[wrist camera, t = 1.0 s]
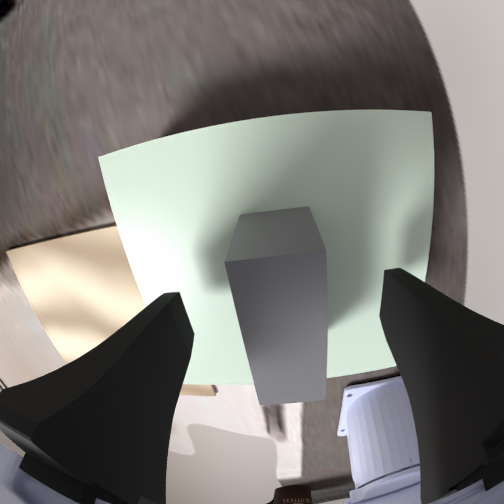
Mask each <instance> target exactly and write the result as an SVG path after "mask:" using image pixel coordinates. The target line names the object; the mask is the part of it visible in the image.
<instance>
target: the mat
mask: <svg viewBox="0 0 504 504" xmlns="http://www.w3.org/2000/svg"><path fill="white" fill-rule="evenodd" d="M6 252H7V254H8V257H9V259H10V262H11V264H12V266H13V269H14V271H15V273H16V275H17V278H18V280H19V282H20V284H21V286H22V288H23V290H24V292H25V294H26V296H27V298H28V300H29V302H30V304H31V306H32V308H33V310H34V312H35V314H36V315H37V317H38V319H39V321H40V323H41V324H42V326H43V328H44V329H45V331H46V333H47V334H48V336H49V338H50V339H51V341H52V343H53V344H54V346H55V347H56V349H57V350H58V352H59V353H60V355H61V356H62V358H63V359H64V361H65V362H66V364H68V363H70V362H72V361H74V360H75V359H77V358H79V357H81V356H82V355H84V354H85V353H87V352H88V351H90V350H91V349H93V348H94V347H96V346H97V345H99V344H100V343H102V342H103V341H104V340H106V339H107V338H108V337H109V336H111V335H112V334H113V333H115V332H116V331H117V330H118V329H120V328H121V327H122V326H124V325H125V324H126V323H127V322H128V321H130V320H131V319H132V318H133V317H134V316H136V315H137V314H138V313H139V312H140V311H142V310H143V309H144V308H145V307H146V305H145V302H144V300H143V297H142V295H141V292H140V290H139V287H138V285H137V282H136V280H135V277H134V274H133V272H132V269H131V266H130V263H129V261H128V258H127V255H126V252H125V249H124V246H123V243H122V240H121V237H120V234H119V231H118V228H117V225H113V226H108V227H103V228H99V229H94V230H89V231H84V232H80V233H75V234H71V235H66V236H62V237H58V238H54V239H49V240H45V241H41V242H37V243H33V244H29V245H25V246H21V247H17V248H14V249H10V250H8V251H6ZM179 395H195V396H216V392H215V390H214V388H213V385H196V384H183V385H182V388H181V391H180V394H179Z"/></svg>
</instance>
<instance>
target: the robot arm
mask: <svg viewBox="0 0 504 504" xmlns="http://www.w3.org/2000/svg"><path fill="white" fill-rule="evenodd" d="M379 317H380V321H381V325H382V328H383V332H384V335H385V338H386V341H387V344H388V346H389V348H390V351H391V353H392V355H393V358H394V360H395V363H396V365H397V367H398V370H399V372H400V375H401V376H398V377H394V378H389V379H384V380H380V381H375V382H369V383H364V384H358V385H352V386H348V387H346V388H345V389H344V394H343V401H342V408H341V414H340V420H339V426H338V432H337V434H338V436H345V435H347V439H348V446H349V454H350V462H351V470H352V477H353V481H354V483H355V488H356V490H352V491H350V499H348V500H346V501H345V502H344V503H343V504H504V325H502V324H500V323H498V322H495V321H493V320H491V319H489V318H486V317H484V316H482V315H480V314H478V313H476V312H474V311H472V310H470V309H468V308H467V307H465V306H463V305H461V304H460V303H458V302H456V301H454V300H453V299H451V298H449V297H448V296H446V295H444V294H443V293H441V292H439V291H438V290H436V289H435V288H433V287H431V286H430V285H428V284H427V283H425V282H424V281H422V280H420V279H419V278H417V277H416V276H414V275H412V274H411V273H409V272H407V271H405V270H404V269H402V268H394V269H387V270H384V277H383V288H382V297H381V306H380V313H379ZM194 336H195V334H194V331H193V328H192V326H191V323H190V320H189V317H188V315H187V312H186V309H185V306H184V303H183V300H182V297H181V294H180V292H168V293H163V294H162V295H160V296H159V297H158V298H156V299H155V300H154V301H153V302H151V303H150V304H149V305H148V306H146V307H145V308H144V309H143V310H142V311H140V312H139V313H138V314H137V315H136V316H134V317H133V318H132V319H131V320H130V321H128V322H127V323H126V324H125V325H124V326H122V327H121V328H120V329H118V330H117V331H116V332H115V333H113V334H112V335H111V336H109V337H108V338H107V339H106V340H104V341H103V342H102V343H100V344H99V345H97V346H96V347H94V348H93V349H91V350H90V351H88V352H87V353H85V354H84V355H82V356H81V357H79V358H77V359H75V360H74V361H72V362H70V363H68V364H66V365H64V366H63V367H61V368H59V369H57V370H55V371H53V372H51V373H48V374H46V375H44V376H42V377H39V378H37V379H34V380H31V381H29V382H26V383H23V384H19V385H16V386H13V387H10V388H6V389H3V390H2V391H1V392H0V430H1V431H2V432H3V433H4V434H5V435H6V436H7V437H8V438H9V439H10V440H12V441H13V442H14V443H15V444H16V445H17V446H19V447H20V448H21V449H22V450H23V451H25V452H26V453H25V455H24V457H22V456H20V455H19V454H18V453H16V452H15V451H13V450H12V449H10V448H9V447H7V446H6V445H5V444H3V443H0V504H166V468H167V456H168V448H169V439H170V433H171V427H172V421H173V416H174V412H175V408H176V404H177V401H178V398H179V394H180V391H181V388H182V385H183V382H184V379H185V375H186V372H187V369H188V366H189V362H190V359H191V354H192V349H193V342H194Z"/></svg>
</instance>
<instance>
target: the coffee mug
mask: <svg viewBox="0 0 504 504" xmlns="http://www.w3.org/2000/svg"><path fill="white" fill-rule="evenodd" d="M267 504H313V503H312V497H311V491H310V487H307V486H285V487H280V488H277V489H275V494H274V498H273V500H272V501H271V502H269V503H267Z"/></svg>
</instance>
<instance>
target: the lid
mask: <svg viewBox="0 0 504 504" xmlns="http://www.w3.org/2000/svg"><path fill="white" fill-rule="evenodd" d="M98 158H99V162H100V166H101V170H102V174H103V179H104V182H105V186H106V190H107V194H108V197H109V201H110V205H111V208H112V211H113V215H114V218H115V221H116V225H117V228H118V231H119V234H120V237H121V240H122V243H123V246H124V249H125V252H126V255H127V258H128V261H129V263H130V266H131V269H132V272H133V274H134V277H135V280H136V282H137V285H138V287H139V290H140V292H141V295H142V297H143V300H144V302H145V305H146V306H148V305H149V304H150V303H151V302H153V301H154V300H155V299H156V298H158V297H159V296H160V295H162V294H163V293H168V292H180V294H181V297H182V300H183V303H184V306H185V309H186V312H187V315H188V317H189V320H190V323H191V326H192V328H193V331H194V334H195V336H194V342H193V349H192V354H191V359H190V362H189V366H188V369H187V372H186V375H185V379H184V382H183V384H196V385H242V384H254V385H255V389H256V393H257V397H258V400H259V404H260V405H267V404H284V403H297V402H307V401H317V400H325V398H326V379H327V378H330V377H337V376H344V375H351V374H357V373H363V372H368V371H374V370H379V369H384V368H389V367H394V366H397V365H396V363H395V360H394V358H393V355H392V353H391V351H390V348H389V346H388V344H387V341H386V338H385V335H384V332H383V328H382V325H381V321H380V317H379V313H380V306H381V297H382V288H383V277H384V270H387V269H394V268H402V269H404V270H405V271H407V272H409V273H411V274H412V275H414V276H416V277H417V278H419V279H420V280H422V281H424V282H425V277H426V271H427V264H428V257H429V250H430V241H431V231H432V219H433V203H434V140H433V124H432V113H431V112H425V111H408V110H338V111H320V112H307V113H296V114H287V115H278V116H270V117H262V118H255V119H249V120H242V121H236V122H231V123H225V124H220V125H215V126H210V127H205V128H200V129H195V130H191V131H187V132H182V133H178V134H174V135H170V136H166V137H162V138H159V139H155V140H151V141H148V142H144V143H141V144H137V145H134V146H131V147H128V148H124V149H121V150H118V151H115V152H112V153H109V154H106V155H103V156H101V157H98Z"/></svg>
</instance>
